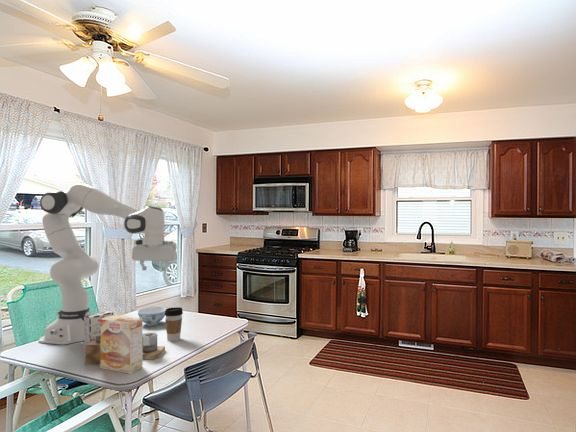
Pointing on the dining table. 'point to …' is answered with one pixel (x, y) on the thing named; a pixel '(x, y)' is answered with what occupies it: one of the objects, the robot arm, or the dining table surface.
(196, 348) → the dining table surface
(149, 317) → the chinaware
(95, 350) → the stand
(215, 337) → the dining table surface
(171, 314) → the coffee cup
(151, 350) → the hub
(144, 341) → the faceted octagonal planter
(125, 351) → the coffeecake box
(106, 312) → the candy bar box
